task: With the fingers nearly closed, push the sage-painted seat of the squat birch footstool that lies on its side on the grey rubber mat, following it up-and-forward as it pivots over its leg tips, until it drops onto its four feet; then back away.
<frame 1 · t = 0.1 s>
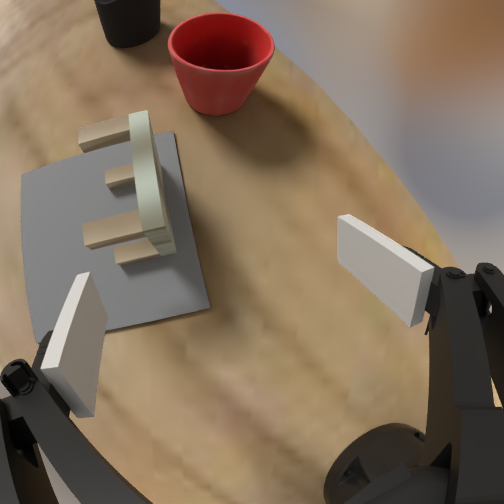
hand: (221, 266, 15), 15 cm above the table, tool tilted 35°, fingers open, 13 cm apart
mat: (98, 233, 29), on the table
stool: (139, 212, 30), resting on mat
flower pot: (215, 94, 35), on the table
pen holder: (133, 32, 35), on the table
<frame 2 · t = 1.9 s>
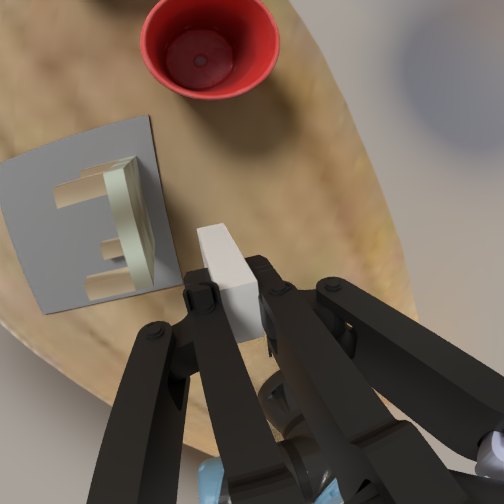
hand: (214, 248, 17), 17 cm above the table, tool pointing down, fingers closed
mat: (81, 224, 30), on the table
stool: (119, 206, 31), resting on mat
flower pot: (198, 61, 27), on the table
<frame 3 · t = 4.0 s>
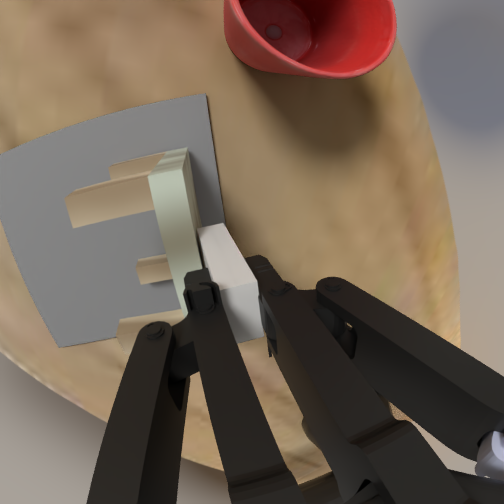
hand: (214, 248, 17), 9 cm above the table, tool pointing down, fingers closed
mat: (109, 237, 24), on the table
stool: (162, 215, 24), point 1 cm above the table, tilted 6°, touching gripper, mat
flower pot: (268, 33, 20), on the table
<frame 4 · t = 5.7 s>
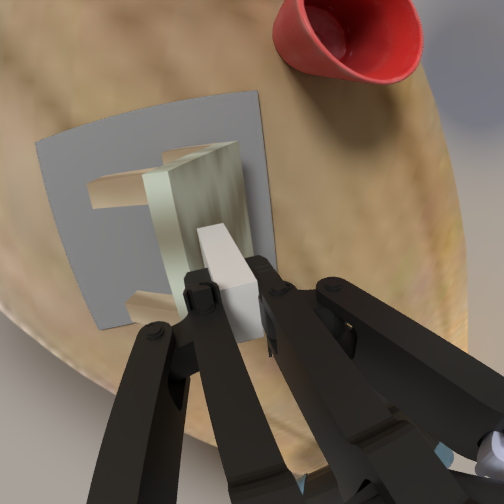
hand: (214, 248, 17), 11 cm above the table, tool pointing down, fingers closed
mat: (162, 218, 27), on the table
stool: (212, 203, 25), point 2 cm above the table, tilted 33°, touching gripper, mat
flower pot: (309, 39, 23), on the table
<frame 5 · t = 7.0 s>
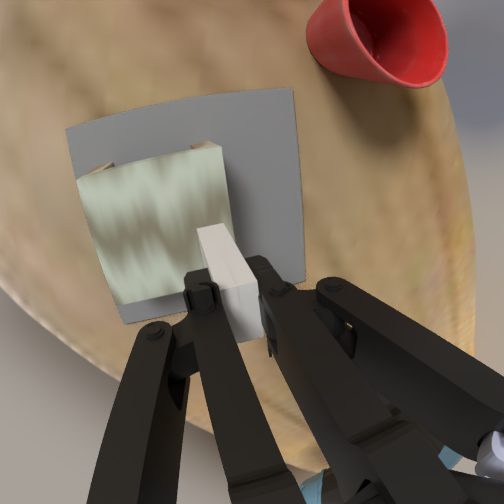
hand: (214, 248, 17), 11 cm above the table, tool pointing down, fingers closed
mat: (196, 210, 27), on the table
stool: (223, 205, 24), point 3 cm above the table, tilted 90°, touching mat
flower pot: (339, 41, 24), on the table
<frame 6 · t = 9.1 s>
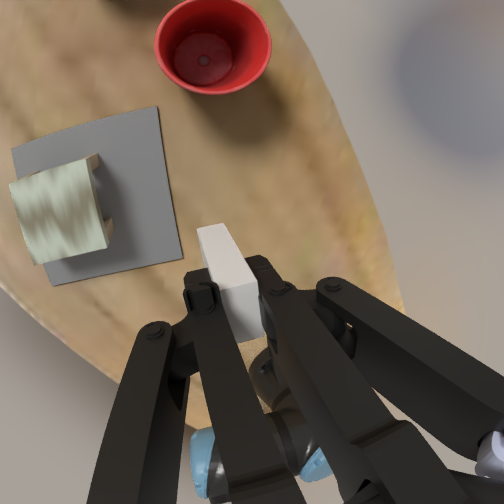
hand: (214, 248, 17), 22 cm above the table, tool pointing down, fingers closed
mat: (93, 202, 34), on the table
stool: (100, 197, 31), point 3 cm above the table, tilted 90°, touching mat
flower pot: (202, 60, 31), on the table
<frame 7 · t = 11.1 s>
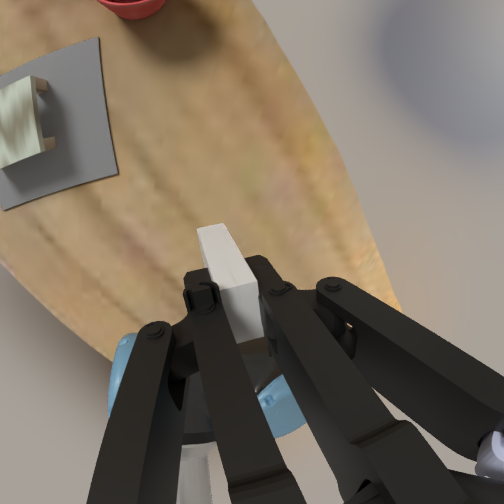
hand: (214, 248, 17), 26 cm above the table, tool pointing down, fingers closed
mat: (40, 124, 31), on the table
stool: (42, 113, 28), point 3 cm above the table, tilted 90°, touching mat
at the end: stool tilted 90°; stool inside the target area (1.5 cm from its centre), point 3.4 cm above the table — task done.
